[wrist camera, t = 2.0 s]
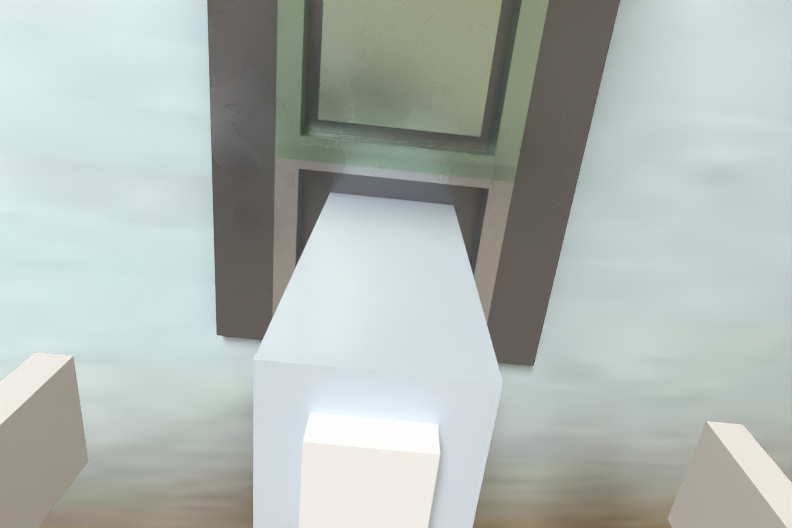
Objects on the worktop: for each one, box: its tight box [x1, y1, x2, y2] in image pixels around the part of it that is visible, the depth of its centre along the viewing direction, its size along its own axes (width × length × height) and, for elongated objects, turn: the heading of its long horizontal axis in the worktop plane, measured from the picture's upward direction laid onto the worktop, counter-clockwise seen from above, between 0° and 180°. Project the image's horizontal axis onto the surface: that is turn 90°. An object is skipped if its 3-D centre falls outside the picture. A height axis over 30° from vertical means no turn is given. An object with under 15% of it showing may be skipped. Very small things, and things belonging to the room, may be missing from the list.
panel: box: [207, 0, 620, 366], centre depth 19 cm, size 13×16×2 cm
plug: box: [253, 192, 503, 528], centre depth 15 cm, size 4×4×12 cm
